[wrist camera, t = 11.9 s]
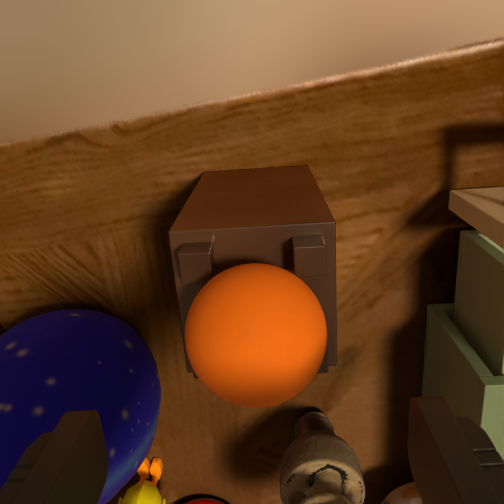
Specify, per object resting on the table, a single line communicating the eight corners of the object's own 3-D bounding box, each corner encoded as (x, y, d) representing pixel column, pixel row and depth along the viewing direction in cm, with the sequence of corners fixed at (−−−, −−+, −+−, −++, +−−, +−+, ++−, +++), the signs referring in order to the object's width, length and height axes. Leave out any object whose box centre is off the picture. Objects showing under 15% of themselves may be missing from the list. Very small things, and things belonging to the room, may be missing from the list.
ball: (201, 358, 20) (183, 443, 16) (188, 247, 19) (162, 306, 14) (320, 353, 20) (337, 437, 16) (317, 239, 18) (335, 296, 14)
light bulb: (274, 385, 35) (281, 594, 21) (350, 382, 35) (408, 591, 21) (277, 447, 37) (286, 676, 23) (349, 444, 37) (403, 674, 23)
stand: (213, 267, 32) (182, 390, 20) (203, 171, 30) (161, 241, 17) (311, 262, 32) (341, 383, 19) (308, 164, 29) (340, 231, 17)
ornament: (21, 388, 36) (-137, 594, 22) (16, 274, 32) (-172, 429, 18) (170, 406, 36) (111, 621, 22) (180, 296, 33) (119, 464, 19)
